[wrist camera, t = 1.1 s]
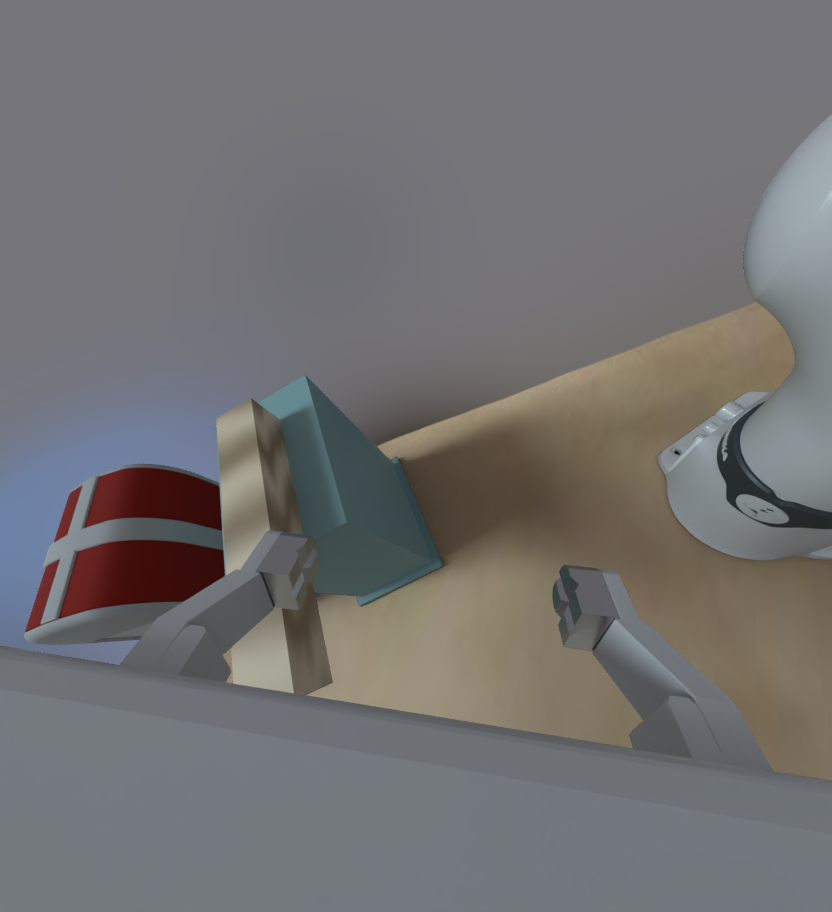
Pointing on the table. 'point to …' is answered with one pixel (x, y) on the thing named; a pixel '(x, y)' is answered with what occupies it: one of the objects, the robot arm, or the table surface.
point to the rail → (245, 522)
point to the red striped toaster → (128, 554)
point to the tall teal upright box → (349, 499)
